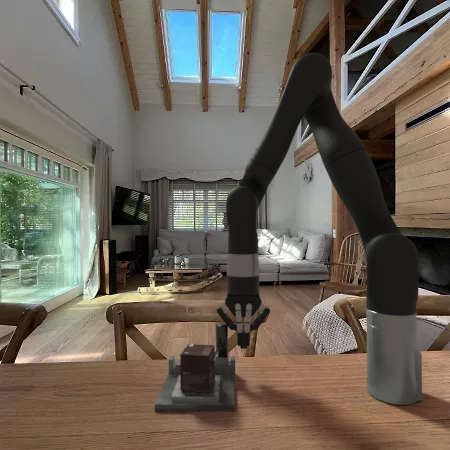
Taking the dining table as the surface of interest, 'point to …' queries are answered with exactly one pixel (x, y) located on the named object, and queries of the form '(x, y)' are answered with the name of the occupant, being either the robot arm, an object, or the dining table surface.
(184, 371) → the box
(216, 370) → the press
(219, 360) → the lever
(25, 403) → the dining table surface
